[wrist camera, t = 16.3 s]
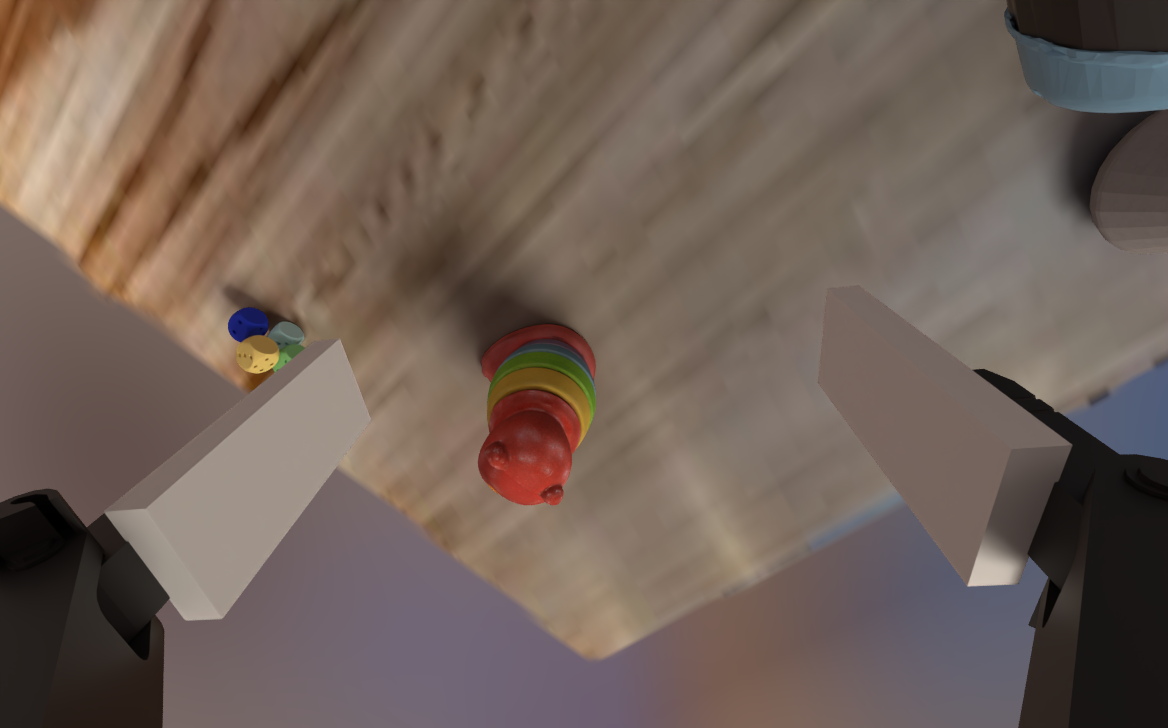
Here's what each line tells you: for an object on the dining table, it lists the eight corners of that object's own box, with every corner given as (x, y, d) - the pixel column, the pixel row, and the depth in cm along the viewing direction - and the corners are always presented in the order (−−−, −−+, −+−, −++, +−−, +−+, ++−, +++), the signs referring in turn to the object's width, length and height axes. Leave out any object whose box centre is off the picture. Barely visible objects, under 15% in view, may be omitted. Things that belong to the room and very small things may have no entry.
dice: (245, 316, 49) (197, 344, 43) (256, 297, 48) (208, 323, 42) (318, 365, 51) (282, 398, 46) (330, 348, 50) (295, 379, 45)
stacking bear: (473, 361, 50) (411, 480, 34) (544, 296, 47) (510, 396, 31) (550, 428, 54) (525, 565, 38) (621, 372, 50) (627, 497, 34)
